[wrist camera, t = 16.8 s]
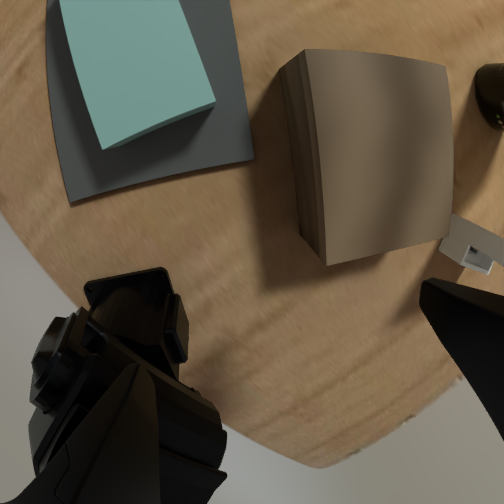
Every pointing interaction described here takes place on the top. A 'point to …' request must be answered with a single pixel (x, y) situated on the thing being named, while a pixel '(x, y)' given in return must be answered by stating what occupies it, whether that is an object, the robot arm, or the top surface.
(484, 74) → the supplement bottle
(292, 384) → the top surface
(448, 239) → the white wedge bracket
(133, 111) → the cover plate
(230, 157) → the rubber mat
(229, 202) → the top surface
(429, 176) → the sleeve box
